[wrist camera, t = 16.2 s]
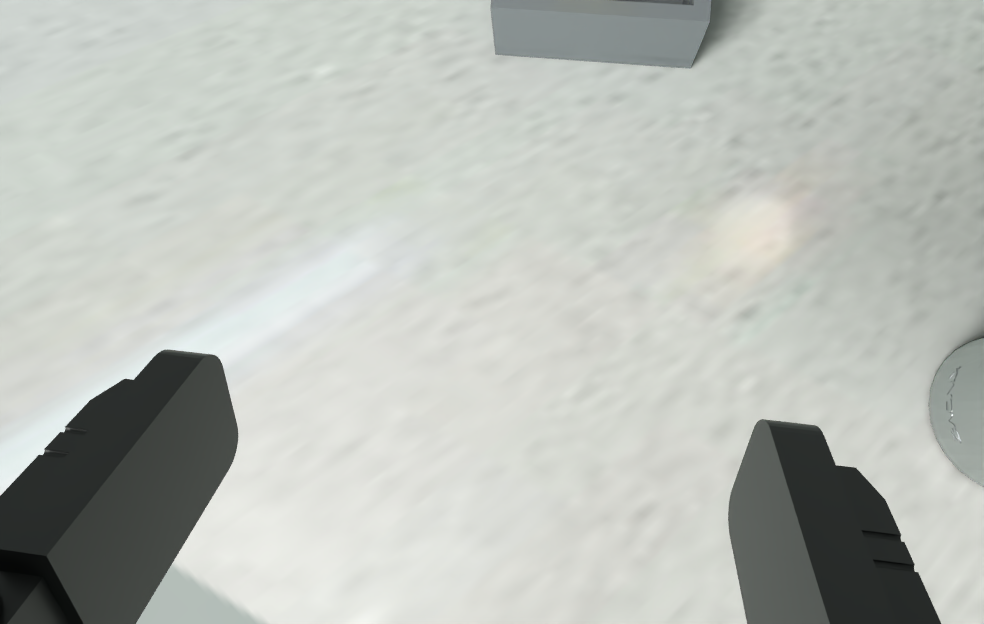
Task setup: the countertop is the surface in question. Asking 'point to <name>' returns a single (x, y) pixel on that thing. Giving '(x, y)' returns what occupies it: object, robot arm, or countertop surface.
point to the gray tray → (602, 30)
